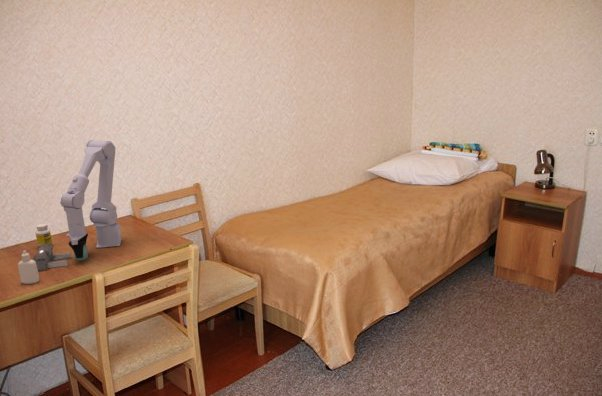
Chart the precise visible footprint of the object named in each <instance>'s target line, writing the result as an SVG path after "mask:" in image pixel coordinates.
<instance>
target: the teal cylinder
mask: <svg viewBox="0 0 602 396" xmlns="http://www.w3.org/2000/svg"><path fill="white" fill-rule="evenodd" d="M87 247H88V246H87V244H86V245H85V244H84V246H83V258H77V257H76V255H75V253H74V252H73V256H74V260H75V261H78V262H82V261H85V260H87V259H89V254H88V248H87Z"/></svg>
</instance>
